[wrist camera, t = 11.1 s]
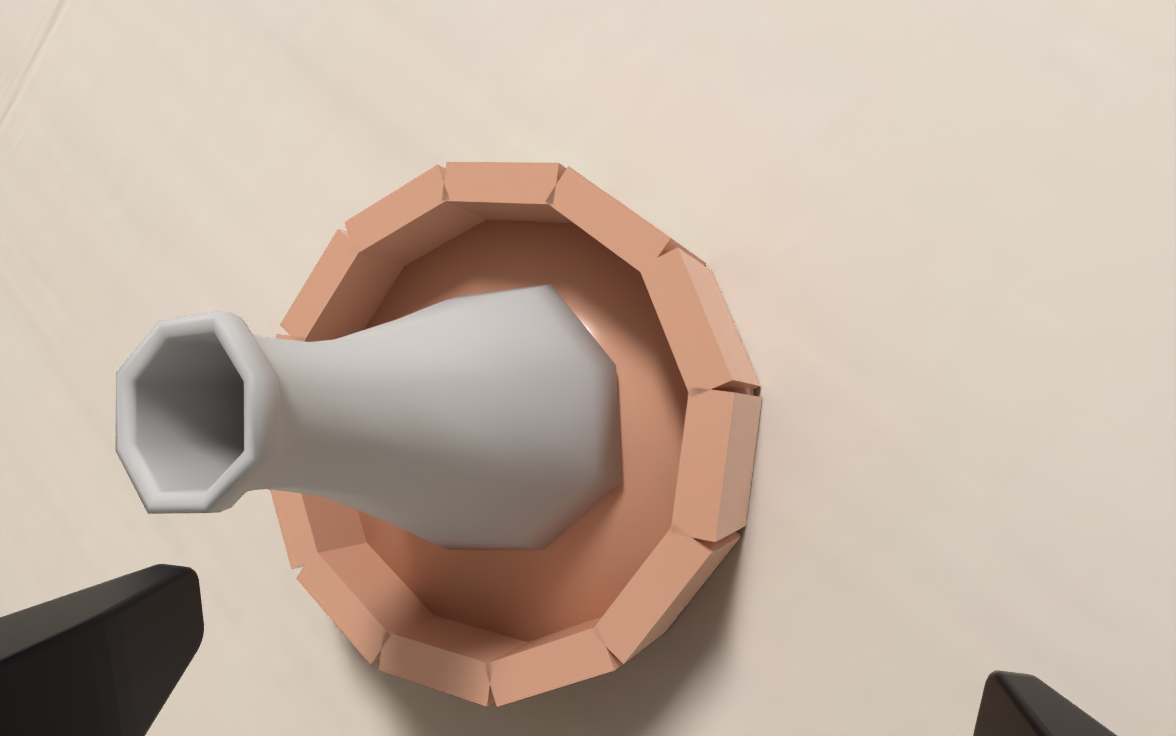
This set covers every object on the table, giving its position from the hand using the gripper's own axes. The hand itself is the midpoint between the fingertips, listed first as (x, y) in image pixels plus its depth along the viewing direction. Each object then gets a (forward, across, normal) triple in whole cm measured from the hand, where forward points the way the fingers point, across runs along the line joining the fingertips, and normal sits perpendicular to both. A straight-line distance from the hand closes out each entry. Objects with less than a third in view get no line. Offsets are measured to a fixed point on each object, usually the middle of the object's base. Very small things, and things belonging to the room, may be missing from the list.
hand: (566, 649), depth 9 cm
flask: (+12, +4, +2) cm, 13 cm away
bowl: (+13, +3, +2) cm, 13 cm away
